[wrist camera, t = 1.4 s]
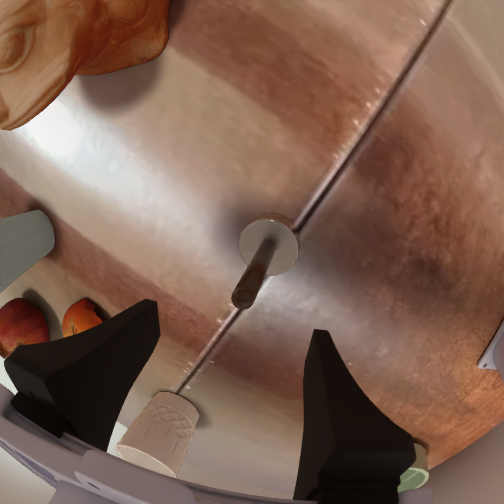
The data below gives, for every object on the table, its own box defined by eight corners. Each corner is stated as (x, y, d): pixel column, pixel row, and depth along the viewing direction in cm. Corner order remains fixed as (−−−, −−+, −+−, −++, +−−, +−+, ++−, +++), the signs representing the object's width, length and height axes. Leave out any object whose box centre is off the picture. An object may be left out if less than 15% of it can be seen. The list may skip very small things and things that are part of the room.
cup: (54, 198, 27) (-21, 230, 17) (67, 262, 30) (3, 306, 20) (21, 201, 29) (-43, 229, 19) (33, 257, 31) (-23, 293, 22)
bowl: (441, 437, 28) (446, 466, 23) (397, 477, 33) (398, 501, 29) (360, 433, 30) (360, 466, 25) (326, 472, 35) (323, 499, 30)
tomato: (115, 373, 33) (62, 373, 28) (102, 334, 37) (55, 330, 32) (131, 333, 31) (70, 329, 25) (117, 292, 35) (64, 285, 30)
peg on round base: (305, 220, 22) (292, 276, 14) (293, 272, 24) (274, 347, 15) (248, 207, 23) (201, 254, 14) (240, 259, 24) (196, 325, 16)
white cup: (198, 431, 36) (173, 486, 27) (149, 408, 37) (117, 459, 28) (208, 405, 33) (178, 469, 24) (151, 378, 34) (112, 436, 25)
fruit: (42, 285, 33) (-8, 322, 24) (73, 346, 36) (31, 387, 27) (13, 289, 36) (-29, 319, 27) (39, 341, 39) (3, 374, 30)
